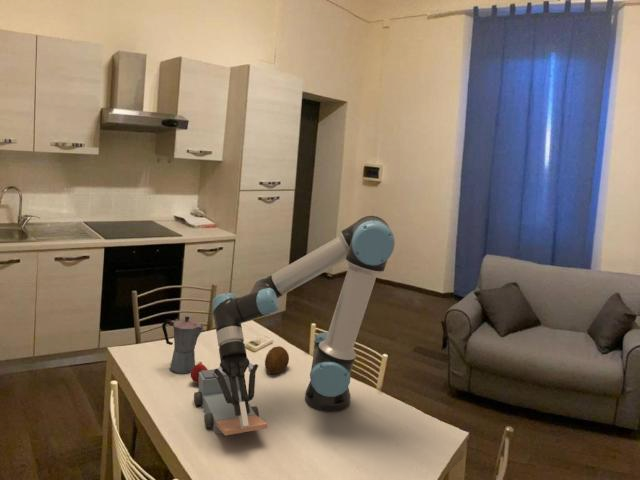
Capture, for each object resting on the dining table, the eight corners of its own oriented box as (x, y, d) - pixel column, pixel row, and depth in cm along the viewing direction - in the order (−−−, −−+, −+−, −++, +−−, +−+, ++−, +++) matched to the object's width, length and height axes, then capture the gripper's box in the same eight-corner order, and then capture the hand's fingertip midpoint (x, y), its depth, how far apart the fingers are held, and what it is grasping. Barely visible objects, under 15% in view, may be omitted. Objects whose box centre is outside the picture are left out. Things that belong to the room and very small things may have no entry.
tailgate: (215, 421, 153) (225, 430, 144) (255, 414, 158) (267, 423, 149) (215, 427, 153) (225, 437, 144) (255, 420, 158) (267, 429, 149)
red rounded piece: (203, 388, 180) (204, 366, 178) (187, 386, 181) (188, 364, 180) (210, 381, 186) (211, 360, 184) (194, 378, 187) (195, 357, 185)
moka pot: (199, 376, 189) (201, 322, 185) (156, 372, 189) (157, 319, 185) (205, 365, 198) (207, 313, 194) (164, 361, 198) (165, 310, 195)
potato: (255, 372, 196) (256, 349, 194) (275, 362, 206) (276, 340, 204) (273, 379, 191) (275, 356, 190) (293, 368, 201) (294, 346, 200)
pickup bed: (192, 398, 173) (193, 371, 171) (239, 392, 179) (240, 365, 178) (208, 434, 153) (210, 403, 152) (260, 425, 160) (262, 395, 158)
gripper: (249, 347, 161) (264, 427, 150) (206, 352, 156) (218, 434, 144) (256, 337, 156) (271, 419, 144) (211, 342, 150) (224, 427, 139)
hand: (244, 427), depth 144 cm, fingers closed
